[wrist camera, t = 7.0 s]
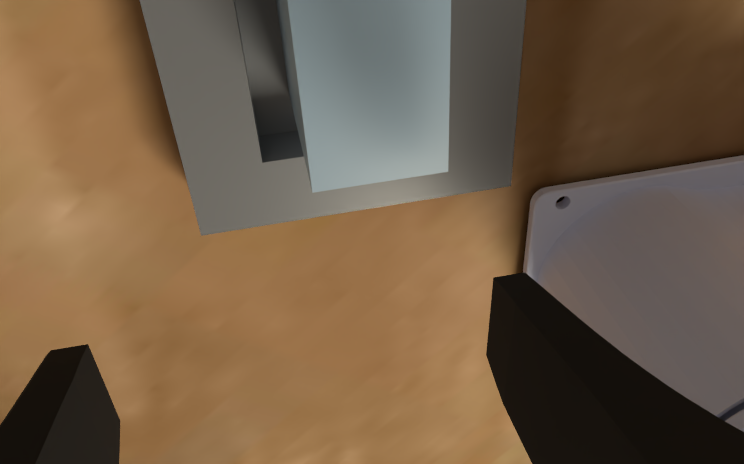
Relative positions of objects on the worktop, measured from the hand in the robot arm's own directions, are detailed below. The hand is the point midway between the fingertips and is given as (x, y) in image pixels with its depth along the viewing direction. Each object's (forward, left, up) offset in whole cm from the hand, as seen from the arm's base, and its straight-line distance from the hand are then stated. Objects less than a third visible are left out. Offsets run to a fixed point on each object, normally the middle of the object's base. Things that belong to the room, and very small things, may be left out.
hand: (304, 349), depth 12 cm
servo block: (-2, -4, -8) cm, 9 cm away
